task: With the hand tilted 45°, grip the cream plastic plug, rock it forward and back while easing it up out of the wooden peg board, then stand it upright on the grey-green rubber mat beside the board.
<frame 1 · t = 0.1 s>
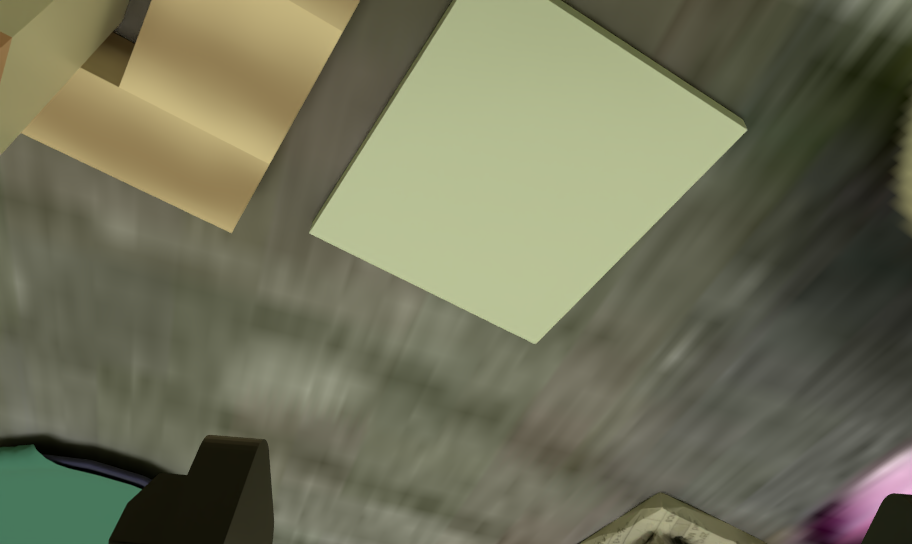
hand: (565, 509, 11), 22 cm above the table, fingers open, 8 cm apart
mat: (513, 174, 34), on the table
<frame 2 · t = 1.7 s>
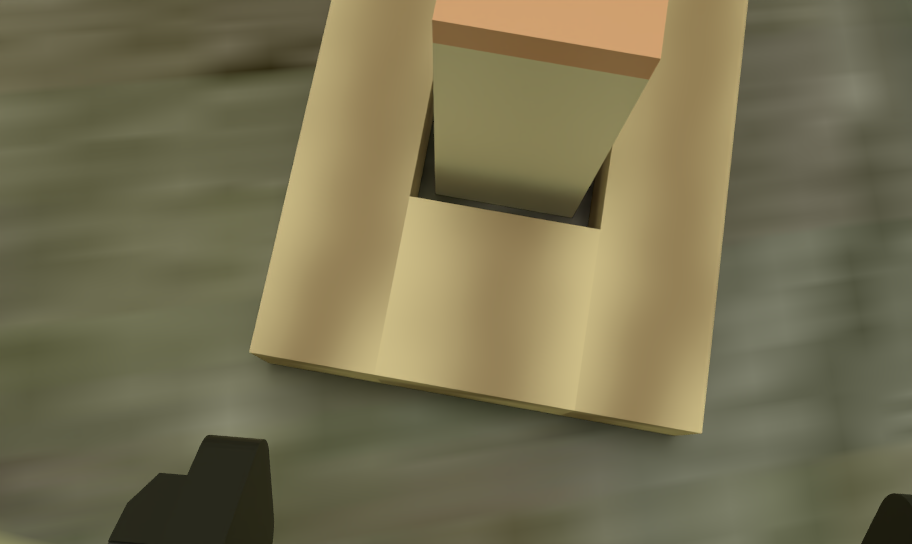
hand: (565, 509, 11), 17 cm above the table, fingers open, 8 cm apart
plug: (530, 80, 24), in the wooden peg board
wooden peg board: (512, 154, 30), on the table
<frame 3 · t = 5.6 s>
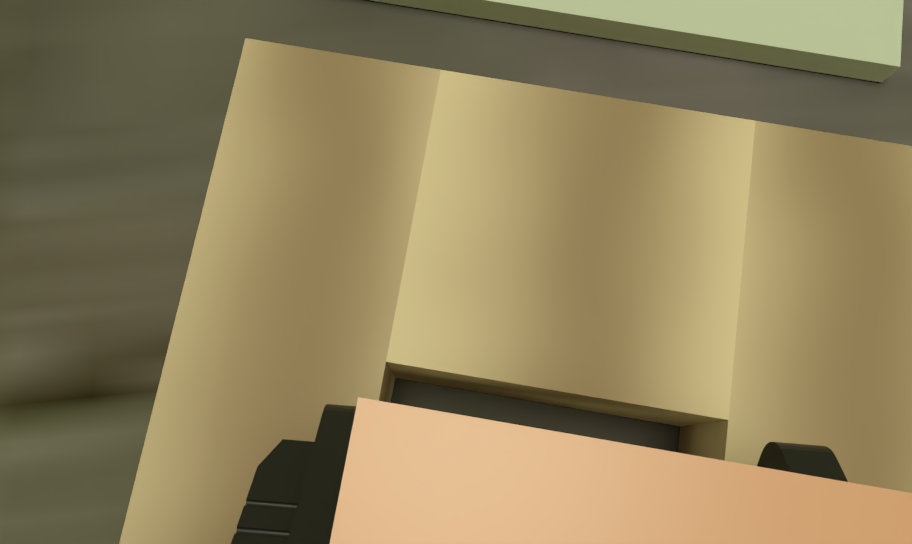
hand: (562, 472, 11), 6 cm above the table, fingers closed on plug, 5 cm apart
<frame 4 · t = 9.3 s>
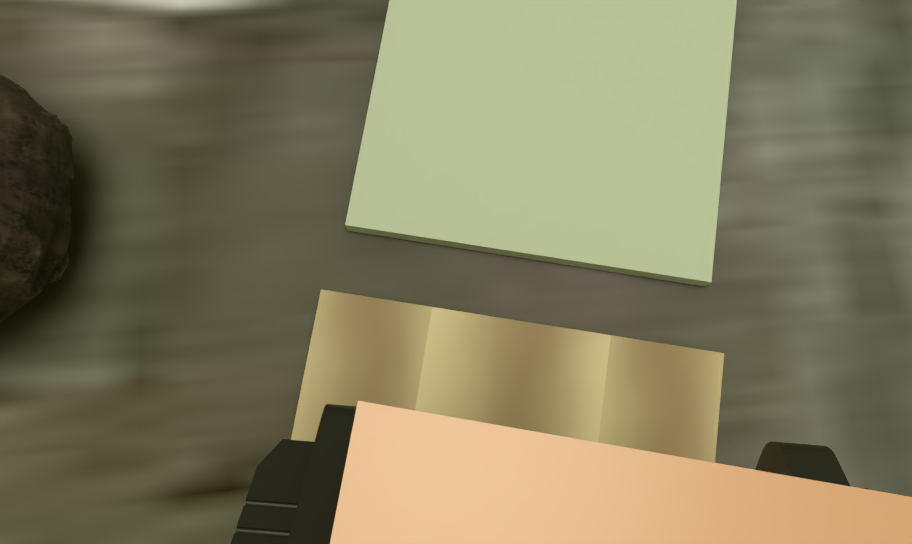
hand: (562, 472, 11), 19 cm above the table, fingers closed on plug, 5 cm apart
mat: (545, 116, 33), on the table
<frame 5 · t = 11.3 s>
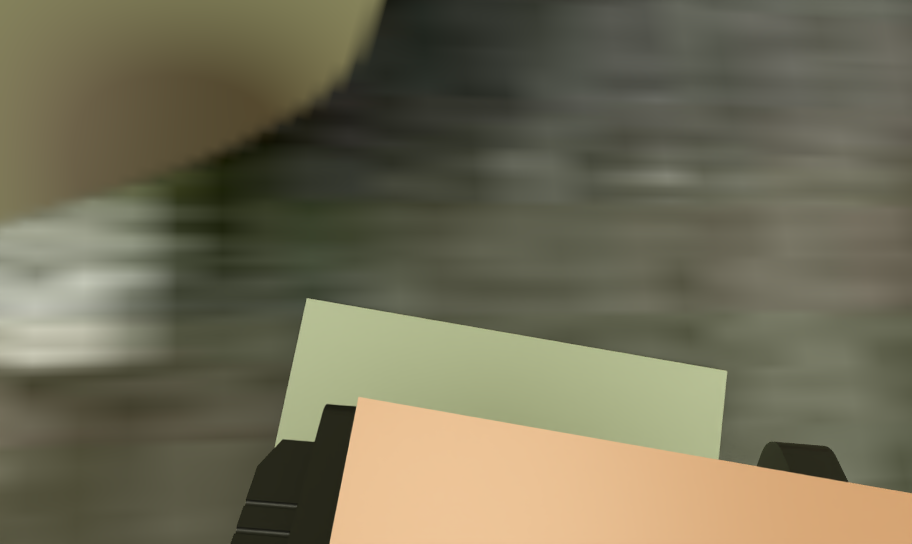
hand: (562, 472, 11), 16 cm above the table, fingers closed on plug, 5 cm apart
mat: (485, 520, 26), on the table
when the fingers open (8 cm above the table, at t = 13.0 s): plug drops 1 cm, resting on mat.
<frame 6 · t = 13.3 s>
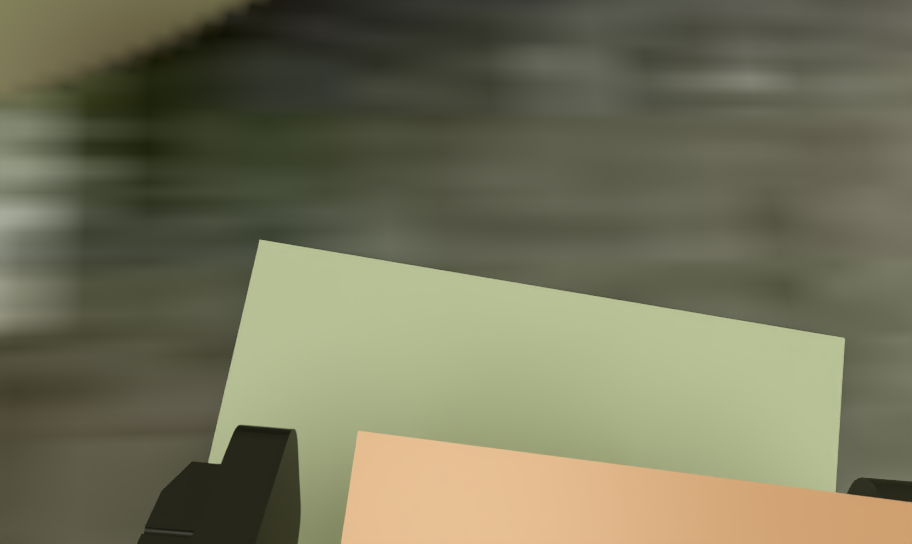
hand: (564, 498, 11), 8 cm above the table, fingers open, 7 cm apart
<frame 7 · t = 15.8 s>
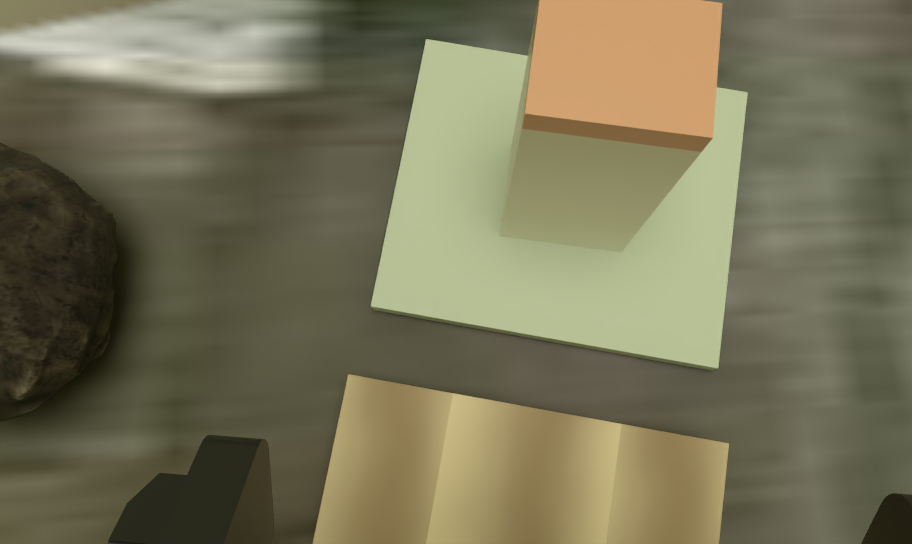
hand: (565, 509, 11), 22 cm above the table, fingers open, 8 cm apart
plug: (589, 142, 28), on the mat, point 7 cm above the table
rock: (21, 296, 34), on the table
mat: (562, 201, 34), on the table
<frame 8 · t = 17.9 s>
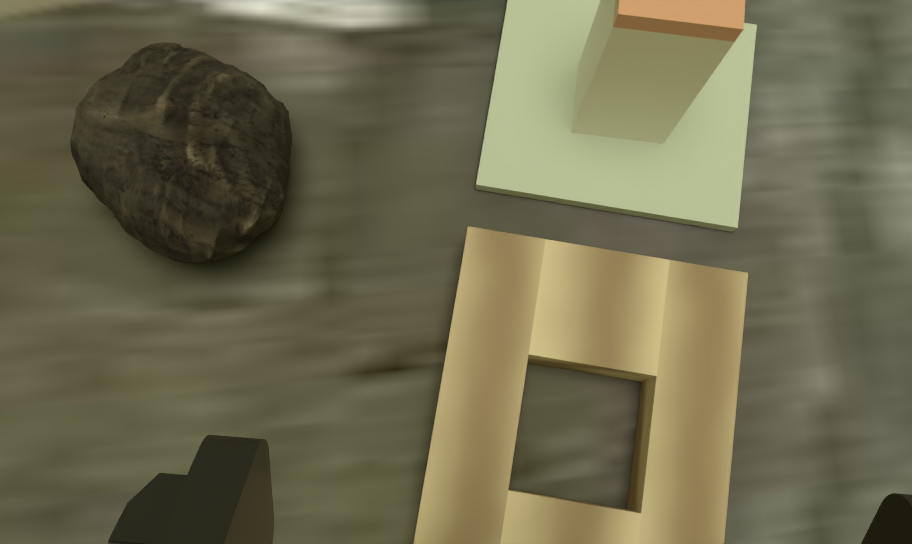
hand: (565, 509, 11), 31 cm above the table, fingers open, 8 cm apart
plug: (647, 50, 38), on the mat, point 7 cm above the table
rock: (206, 181, 44), on the table
mat: (617, 108, 45), on the table
wooden peg board: (573, 434, 41), on the table
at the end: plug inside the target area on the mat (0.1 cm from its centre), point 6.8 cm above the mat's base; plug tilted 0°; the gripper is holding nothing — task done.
